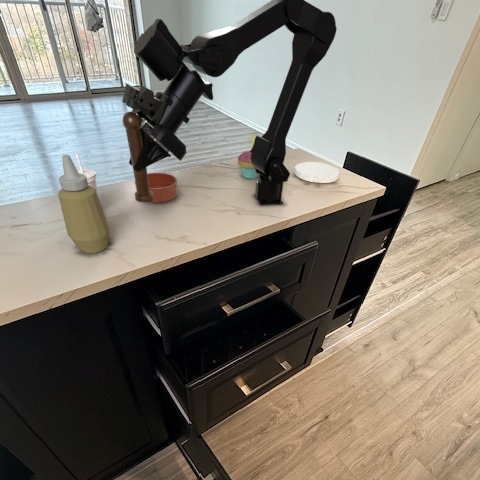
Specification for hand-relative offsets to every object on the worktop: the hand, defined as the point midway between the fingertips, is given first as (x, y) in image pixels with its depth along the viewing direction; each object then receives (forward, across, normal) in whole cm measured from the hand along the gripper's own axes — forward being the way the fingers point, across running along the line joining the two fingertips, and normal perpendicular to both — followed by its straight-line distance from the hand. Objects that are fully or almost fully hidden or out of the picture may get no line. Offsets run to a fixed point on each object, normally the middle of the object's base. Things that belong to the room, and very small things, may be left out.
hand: (132, 167), depth 66 cm
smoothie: (+16, -10, +2) cm, 19 cm away
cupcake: (-19, -18, +38) cm, 46 cm away
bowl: (+3, -15, +15) cm, 21 cm away
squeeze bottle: (+18, +5, +1) cm, 19 cm away
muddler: (+4, 0, +6) cm, 7 cm away
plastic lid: (-32, -8, +51) cm, 61 cm away
